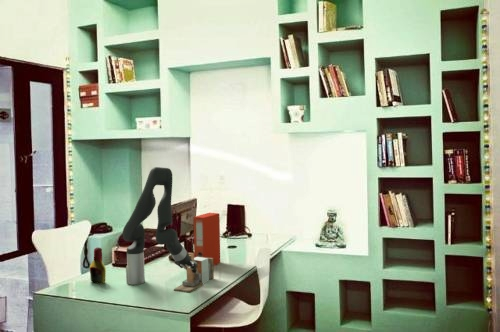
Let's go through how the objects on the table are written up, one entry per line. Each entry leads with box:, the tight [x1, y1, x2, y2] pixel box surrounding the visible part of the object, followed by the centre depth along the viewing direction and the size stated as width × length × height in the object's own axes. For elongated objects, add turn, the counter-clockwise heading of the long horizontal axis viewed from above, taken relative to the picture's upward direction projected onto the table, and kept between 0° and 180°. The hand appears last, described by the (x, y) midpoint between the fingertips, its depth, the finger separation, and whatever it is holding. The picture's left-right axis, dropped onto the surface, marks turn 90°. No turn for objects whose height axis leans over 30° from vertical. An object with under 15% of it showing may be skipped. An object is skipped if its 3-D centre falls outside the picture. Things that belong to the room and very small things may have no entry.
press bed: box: [173, 257, 215, 294], centre depth 263 cm, size 10×26×12 cm, turn 156°
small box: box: [194, 257, 210, 284], centre depth 268 cm, size 8×6×13 cm
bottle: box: [89, 247, 107, 285], centre depth 271 cm, size 12×6×20 cm, turn 48°
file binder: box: [193, 212, 221, 267], centre depth 301 cm, size 8×17×32 cm, turn 150°
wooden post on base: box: [181, 252, 201, 287], centre depth 260 cm, size 7×8×17 cm
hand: (192, 271), depth 261 cm, fingers open, 3 cm apart
